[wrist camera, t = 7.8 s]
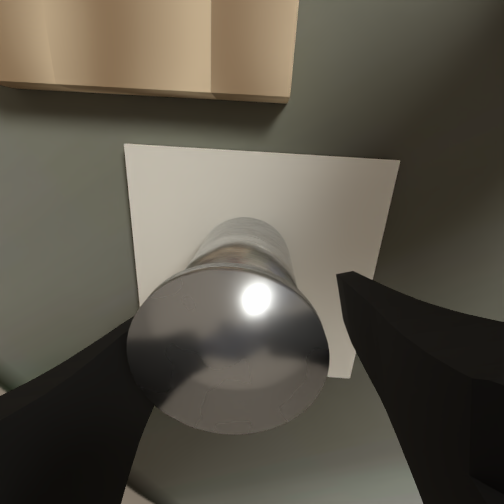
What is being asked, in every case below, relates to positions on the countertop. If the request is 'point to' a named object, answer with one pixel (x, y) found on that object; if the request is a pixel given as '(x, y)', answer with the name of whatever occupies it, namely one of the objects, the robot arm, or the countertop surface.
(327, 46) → the countertop surface
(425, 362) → the robot arm
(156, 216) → the trivet
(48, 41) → the wooden square frame
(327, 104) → the countertop surface
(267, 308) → the end cap
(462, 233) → the countertop surface
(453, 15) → the countertop surface
